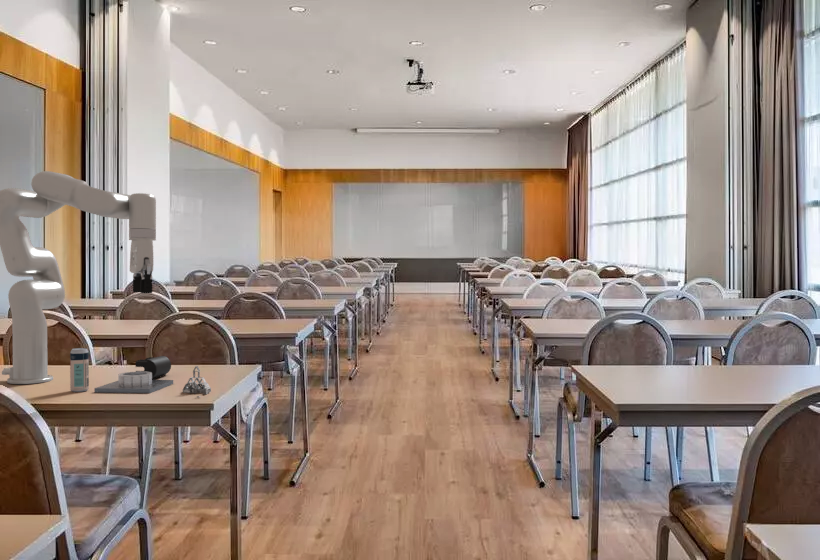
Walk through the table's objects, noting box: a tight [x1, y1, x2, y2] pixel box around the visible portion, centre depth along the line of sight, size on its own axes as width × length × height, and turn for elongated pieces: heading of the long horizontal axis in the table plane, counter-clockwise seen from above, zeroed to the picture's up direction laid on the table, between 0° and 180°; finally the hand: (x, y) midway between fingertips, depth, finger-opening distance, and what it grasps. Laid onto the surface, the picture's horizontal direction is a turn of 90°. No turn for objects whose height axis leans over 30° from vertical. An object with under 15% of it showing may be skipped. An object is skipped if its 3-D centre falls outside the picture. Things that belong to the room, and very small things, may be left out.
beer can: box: [69, 347, 90, 393], centre depth 199 cm, size 5×5×12 cm
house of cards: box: [182, 365, 212, 398], centre depth 196 cm, size 9×9×8 cm
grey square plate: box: [93, 370, 174, 394], centre depth 204 cm, size 16×16×4 cm
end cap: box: [135, 355, 172, 380], centre depth 222 cm, size 10×7×7 cm
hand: (142, 292), depth 209 cm, fingers open, 9 cm apart
